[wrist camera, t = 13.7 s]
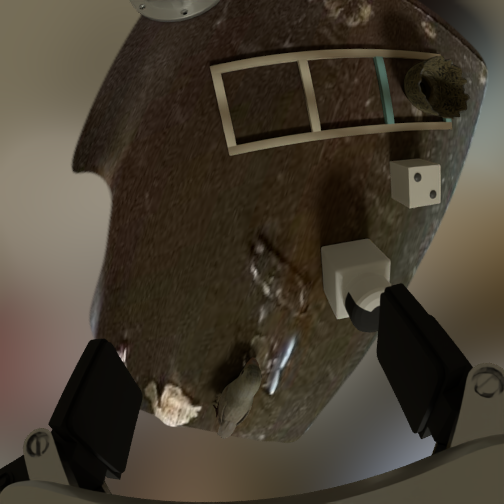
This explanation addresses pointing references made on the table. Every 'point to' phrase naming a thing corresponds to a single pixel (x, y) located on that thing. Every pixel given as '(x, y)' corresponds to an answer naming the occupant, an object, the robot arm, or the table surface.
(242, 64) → the ladder
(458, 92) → the dark patterned vase
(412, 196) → the die
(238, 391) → the decorative bird
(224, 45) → the table surface
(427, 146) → the table surface
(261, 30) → the table surface
